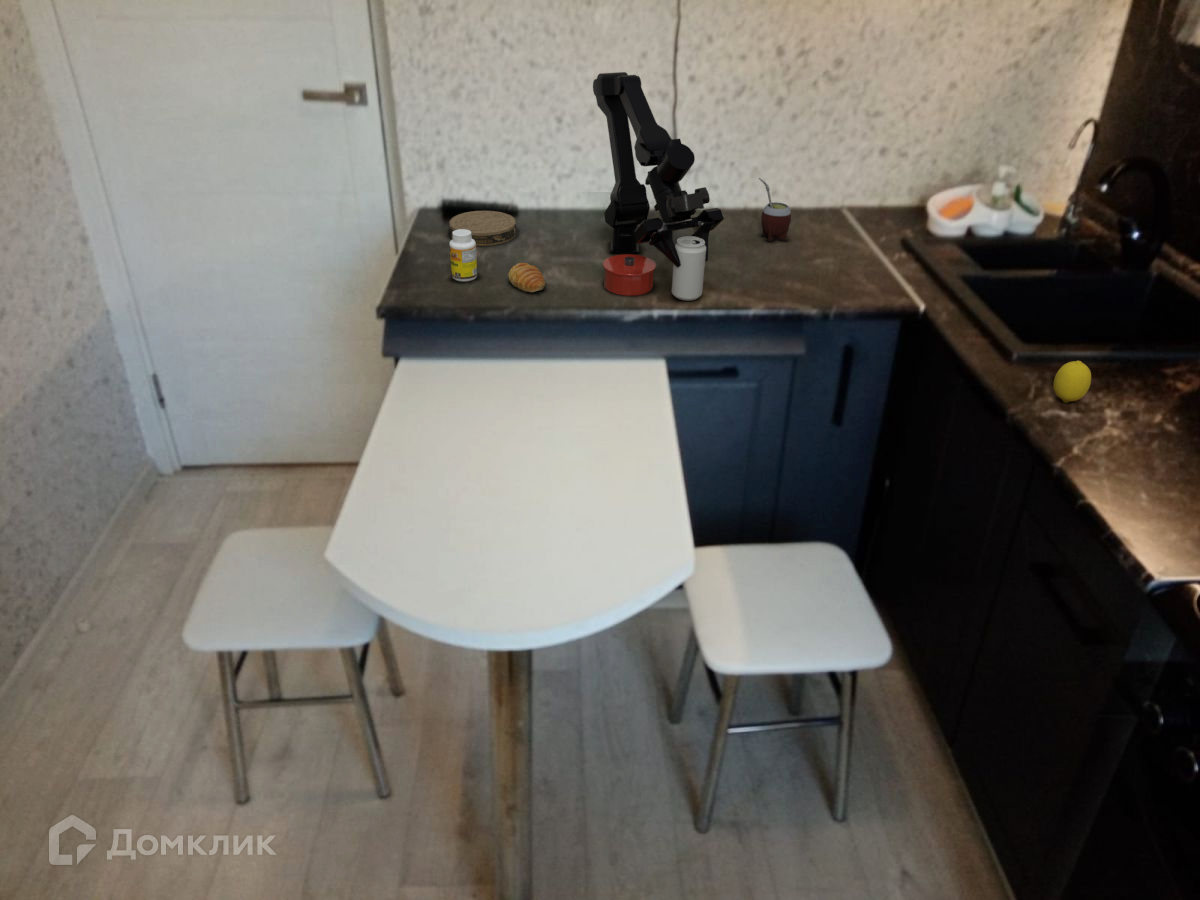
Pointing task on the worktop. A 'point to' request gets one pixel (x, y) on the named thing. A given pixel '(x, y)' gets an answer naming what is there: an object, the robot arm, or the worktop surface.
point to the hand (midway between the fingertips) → (692, 263)
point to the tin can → (485, 226)
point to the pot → (628, 283)
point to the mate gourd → (775, 219)
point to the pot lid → (629, 265)
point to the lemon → (1072, 381)
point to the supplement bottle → (463, 256)
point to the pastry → (526, 277)
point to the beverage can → (689, 268)
